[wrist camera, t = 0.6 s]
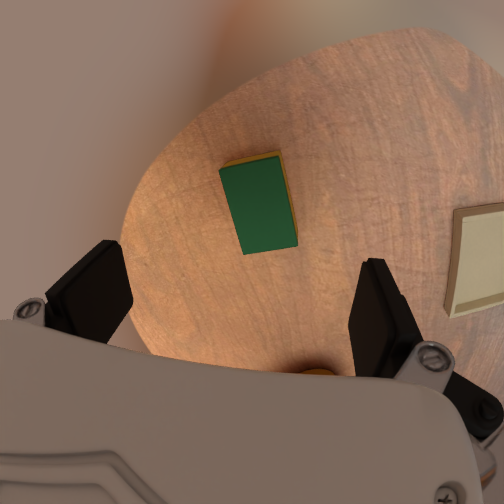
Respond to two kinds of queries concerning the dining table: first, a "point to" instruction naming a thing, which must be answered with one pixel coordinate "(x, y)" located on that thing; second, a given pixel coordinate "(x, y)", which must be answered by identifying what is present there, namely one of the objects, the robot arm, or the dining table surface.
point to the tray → (476, 260)
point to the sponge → (260, 202)
